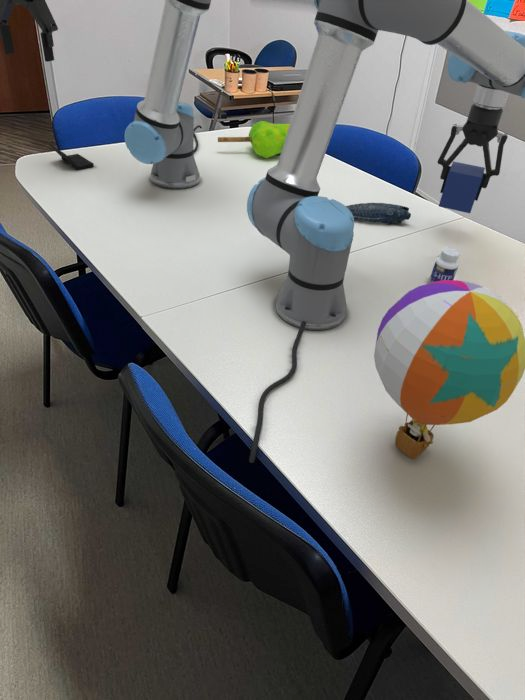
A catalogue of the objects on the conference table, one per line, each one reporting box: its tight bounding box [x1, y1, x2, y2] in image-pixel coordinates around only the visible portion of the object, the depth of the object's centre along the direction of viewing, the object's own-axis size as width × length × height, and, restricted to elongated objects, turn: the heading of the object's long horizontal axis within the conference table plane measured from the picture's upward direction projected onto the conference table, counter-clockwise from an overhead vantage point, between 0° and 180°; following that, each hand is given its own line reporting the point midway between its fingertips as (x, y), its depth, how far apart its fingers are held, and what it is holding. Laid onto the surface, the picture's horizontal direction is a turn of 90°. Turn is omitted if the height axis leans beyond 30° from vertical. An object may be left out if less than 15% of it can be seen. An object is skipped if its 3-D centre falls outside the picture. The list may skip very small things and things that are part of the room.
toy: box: [373, 279, 525, 460], centre depth 74 cm, size 20×20×30 cm
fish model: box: [345, 202, 412, 225], centre depth 150 cm, size 7×21×5 cm, turn 84°
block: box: [438, 160, 486, 214], centre depth 140 cm, size 8×9×10 cm
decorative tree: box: [217, 120, 290, 159], centre depth 187 cm, size 18×10×30 cm
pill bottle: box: [428, 247, 461, 284], centre depth 123 cm, size 5×5×9 cm
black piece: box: [49, 143, 95, 171], centre depth 167 cm, size 12×7×10 cm
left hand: (29, 57), depth 142 cm, fingers open, 13 cm apart
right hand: (459, 194), depth 141 cm, fingers closed on block, 8 cm apart
